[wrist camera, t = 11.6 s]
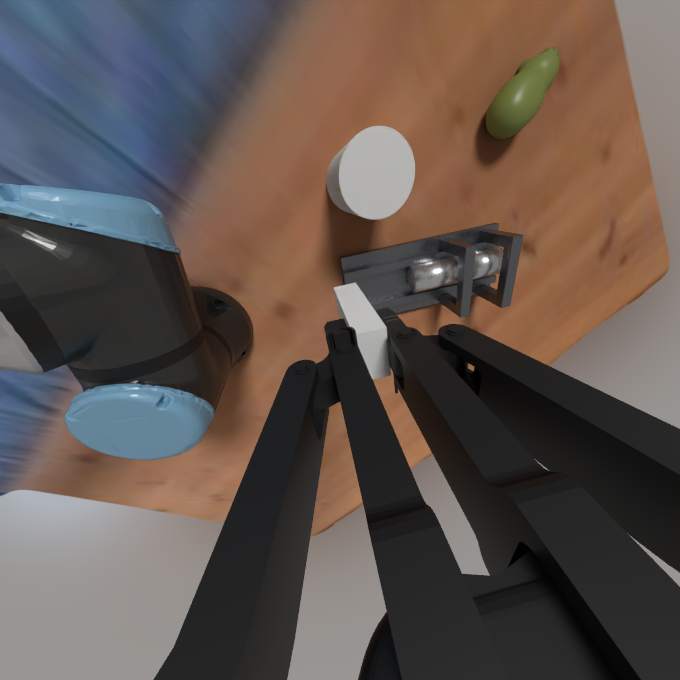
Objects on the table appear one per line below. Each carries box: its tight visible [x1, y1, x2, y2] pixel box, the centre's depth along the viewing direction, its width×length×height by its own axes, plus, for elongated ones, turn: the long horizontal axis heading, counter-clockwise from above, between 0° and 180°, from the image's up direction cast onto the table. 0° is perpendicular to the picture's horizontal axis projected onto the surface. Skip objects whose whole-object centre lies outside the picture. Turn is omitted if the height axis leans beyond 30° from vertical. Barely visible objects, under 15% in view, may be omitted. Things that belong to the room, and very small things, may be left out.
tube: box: [407, 247, 503, 293], centre depth 42 cm, size 15×4×4 cm, turn 100°
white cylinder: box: [326, 126, 415, 220], centre depth 31 cm, size 8×8×12 cm
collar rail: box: [340, 223, 523, 318], centre depth 41 cm, size 27×12×8 cm, turn 100°
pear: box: [486, 47, 560, 139], centre depth 33 cm, size 6×5×10 cm
